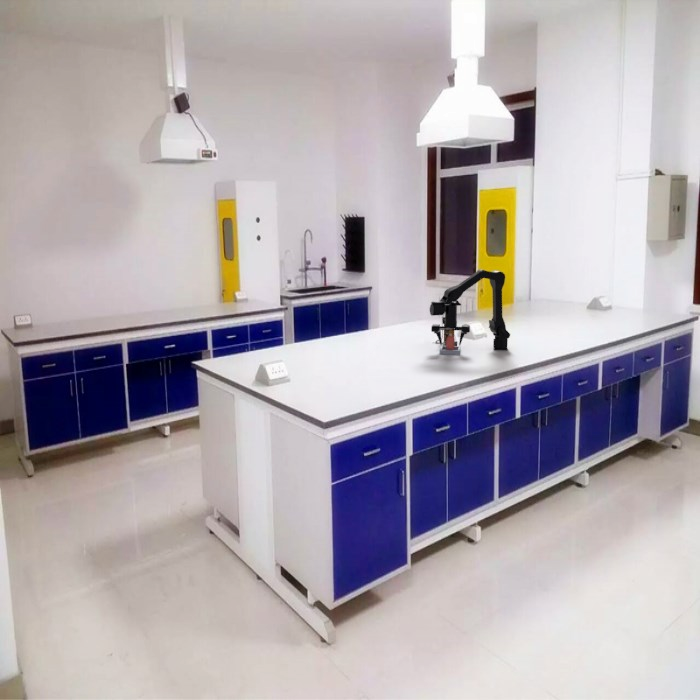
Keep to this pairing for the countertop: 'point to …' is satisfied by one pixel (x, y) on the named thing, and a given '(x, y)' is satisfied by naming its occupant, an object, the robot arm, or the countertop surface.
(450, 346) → the red rounded cylinder
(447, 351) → the tray
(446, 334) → the multimeter
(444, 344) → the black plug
